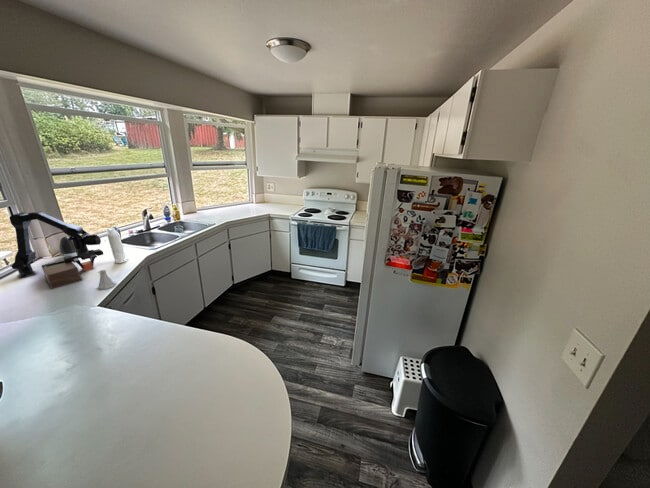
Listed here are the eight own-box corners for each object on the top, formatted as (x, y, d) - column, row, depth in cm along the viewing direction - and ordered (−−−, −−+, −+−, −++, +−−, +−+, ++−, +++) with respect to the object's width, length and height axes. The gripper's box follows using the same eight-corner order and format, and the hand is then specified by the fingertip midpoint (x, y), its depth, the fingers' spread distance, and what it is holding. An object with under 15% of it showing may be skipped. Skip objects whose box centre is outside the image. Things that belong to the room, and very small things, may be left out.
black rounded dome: (83, 255, 186) (77, 236, 181) (64, 260, 178) (57, 240, 173) (78, 252, 191) (72, 233, 186) (60, 256, 183) (52, 237, 178)
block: (82, 269, 166) (80, 263, 164) (91, 266, 169) (89, 260, 167) (84, 271, 163) (82, 264, 162) (93, 268, 167) (91, 262, 165)
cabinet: (47, 280, 150) (41, 268, 147) (75, 273, 160) (70, 261, 157) (52, 288, 142) (47, 275, 140) (81, 280, 152) (77, 267, 149)
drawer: (43, 273, 157) (39, 263, 155) (68, 267, 166) (65, 257, 164) (49, 281, 148) (45, 271, 145) (75, 274, 156) (72, 265, 154)
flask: (105, 290, 142) (100, 274, 139) (95, 288, 143) (90, 273, 140) (118, 284, 149) (113, 269, 145) (108, 282, 150) (103, 267, 147)
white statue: (116, 260, 179) (106, 227, 171) (127, 258, 183) (118, 226, 174) (113, 265, 172) (103, 230, 164) (125, 263, 176) (116, 229, 167)
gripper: (63, 253, 149) (71, 276, 154) (102, 244, 163) (109, 266, 169) (58, 248, 155) (67, 271, 160) (97, 241, 169) (103, 261, 175)
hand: (87, 267), depth 166 cm, fingers closed on block, 4 cm apart
